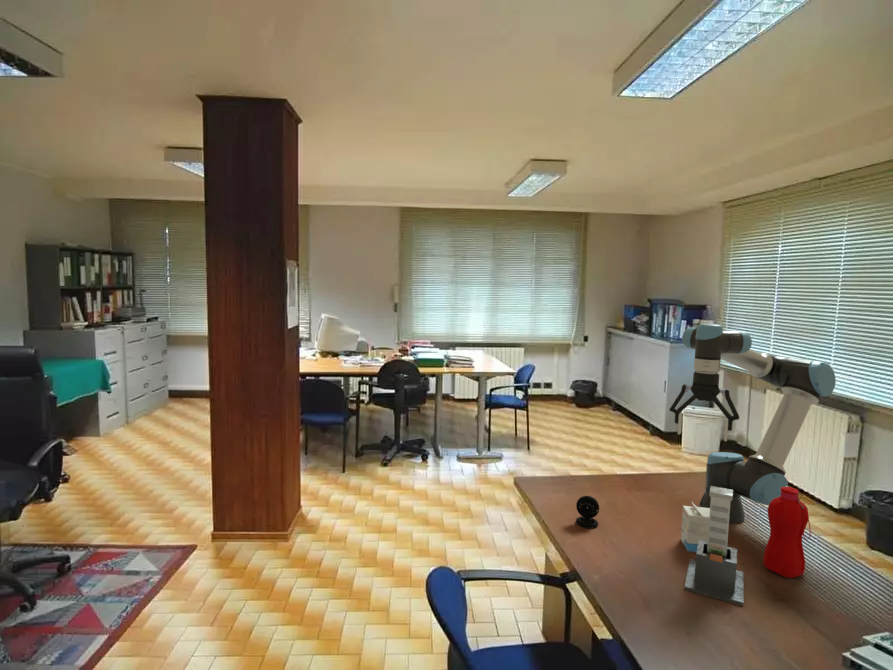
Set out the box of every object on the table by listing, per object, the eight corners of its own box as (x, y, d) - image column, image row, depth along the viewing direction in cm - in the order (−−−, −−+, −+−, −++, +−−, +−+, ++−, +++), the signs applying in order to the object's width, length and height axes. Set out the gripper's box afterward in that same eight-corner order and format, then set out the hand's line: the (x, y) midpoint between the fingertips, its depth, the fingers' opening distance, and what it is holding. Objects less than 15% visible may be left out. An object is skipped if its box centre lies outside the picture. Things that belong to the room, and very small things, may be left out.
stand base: (690, 561, 158) (692, 529, 158) (743, 575, 152) (745, 541, 151) (684, 589, 143) (686, 554, 142) (743, 606, 136) (746, 569, 135)
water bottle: (796, 585, 147) (804, 498, 145) (758, 566, 157) (764, 485, 155) (815, 577, 152) (822, 493, 150) (776, 560, 161) (783, 481, 159)
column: (705, 551, 151) (710, 485, 149) (728, 556, 148) (733, 489, 146) (704, 559, 146) (709, 492, 144) (727, 565, 143) (732, 496, 141)
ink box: (715, 554, 164) (718, 512, 163) (686, 551, 165) (689, 509, 164) (707, 542, 172) (710, 502, 171) (680, 539, 174) (682, 499, 173)
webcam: (573, 526, 181) (575, 497, 180) (576, 517, 188) (578, 490, 187) (597, 530, 178) (598, 501, 177) (599, 522, 185) (600, 494, 184)
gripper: (663, 369, 172) (659, 433, 173) (751, 377, 160) (746, 445, 161) (666, 367, 178) (662, 428, 180) (750, 374, 166) (745, 440, 168)
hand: (701, 436), depth 171 cm, fingers open, 13 cm apart
